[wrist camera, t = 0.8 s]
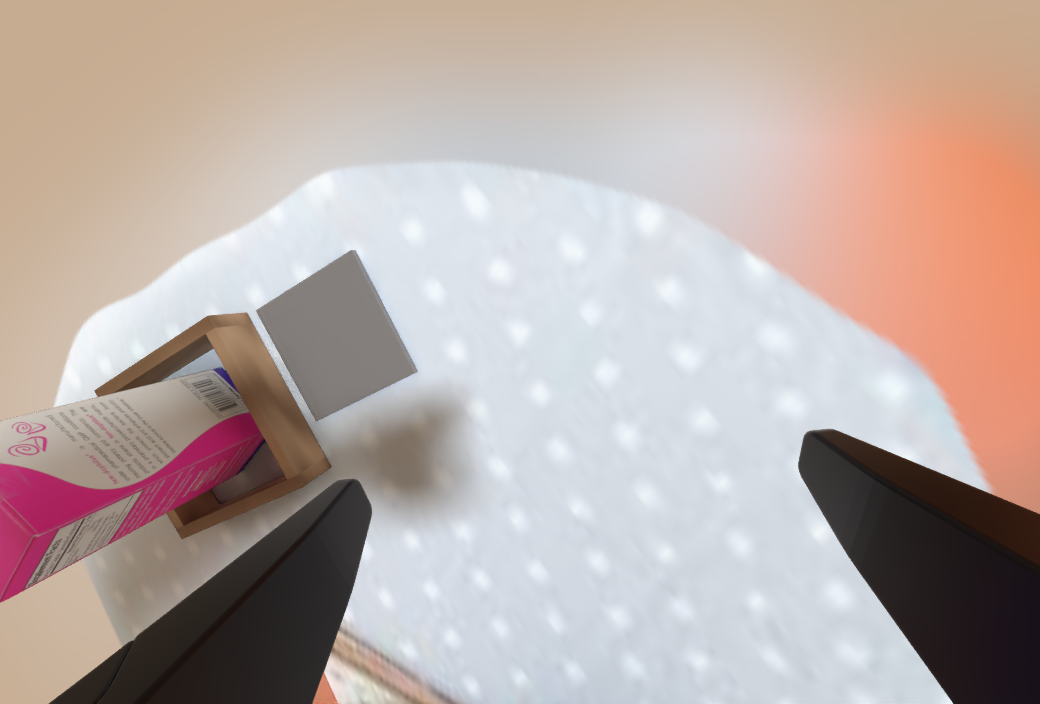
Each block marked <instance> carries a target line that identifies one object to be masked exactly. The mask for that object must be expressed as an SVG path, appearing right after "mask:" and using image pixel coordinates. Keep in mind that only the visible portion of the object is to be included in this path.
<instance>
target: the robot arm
mask: <svg viewBox="0 0 1040 704" xmlns="http://www.w3.org/2000/svg"><path fill="white" fill-rule="evenodd" d="M798 468H799V472H800V475H801V477H802V479H803V481H804V482H805V484H806V486H807V487H808V489H809V491H810V493H811V494H812V496H813V498H814V499H815V501H816V503H817V505H818V506H819V508H820V510H821V511H822V513H823V515H824V516H825V518H826V520H827V522H828V523H829V525H830V527H831V528H832V530H833V532H834V534H835V535H836V537H837V539H838V540H839V542H840V544H841V545H842V547H843V549H844V550H845V552H846V553H847V555H848V557H849V558H850V559H851V561H852V562H853V564H854V565H855V567H856V568H857V570H858V571H859V573H860V574H861V575H862V577H863V578H864V579H865V581H866V582H867V584H868V585H869V586H870V588H871V589H872V591H873V592H874V593H875V595H876V596H877V598H878V599H879V600H880V602H881V603H882V605H883V606H884V607H885V609H886V610H887V612H888V613H889V614H890V616H891V617H892V619H893V620H894V621H895V623H896V624H897V626H898V627H899V628H900V630H901V631H902V633H903V634H904V635H905V637H906V638H907V639H908V641H909V642H910V644H911V645H912V646H913V648H914V649H915V651H916V652H917V653H918V655H919V656H920V658H921V659H922V660H923V662H924V663H925V665H926V666H927V667H928V669H929V670H930V672H931V673H932V674H933V676H934V677H935V679H936V680H937V681H938V683H939V684H940V686H941V687H942V688H943V690H944V691H945V693H946V694H947V695H948V697H949V698H950V699H951V701H952V702H953V704H1040V514H1038V513H1036V512H1033V511H1031V510H1028V509H1026V508H1024V507H1021V506H1019V505H1016V504H1014V503H1012V502H1009V501H1007V500H1004V499H1002V498H999V497H997V496H995V495H992V494H990V493H987V492H985V491H982V490H980V489H978V488H975V487H973V486H970V485H968V484H965V483H963V482H961V481H958V480H956V479H953V478H951V477H948V476H946V475H944V474H941V473H939V472H936V471H934V470H931V469H929V468H927V467H924V466H922V465H919V464H917V463H914V462H912V461H910V460H907V459H905V458H902V457H900V456H897V455H895V454H893V453H890V452H888V451H885V450H883V449H881V448H878V447H876V446H873V445H871V444H868V443H866V442H864V441H861V440H859V439H856V438H854V437H851V436H849V435H847V434H844V433H842V432H839V431H837V430H834V429H821V430H812V431H808V432H807V433H806V434H805V435H804V438H803V443H802V447H801V452H800V457H799V462H798ZM371 516H372V508H371V504H370V502H369V500H368V498H367V496H366V494H365V491H364V489H363V487H362V485H361V483H360V482H359V481H358V480H357V479H346V480H339V481H336V482H335V483H333V484H332V485H331V486H330V487H328V488H327V489H326V490H324V491H323V492H322V493H321V494H319V495H318V496H317V497H315V498H314V499H313V500H312V501H310V502H309V503H308V504H306V505H305V506H304V507H302V508H301V509H300V510H299V511H297V512H296V513H295V514H293V515H292V516H291V517H290V518H288V519H287V520H286V521H284V522H283V523H282V524H281V525H279V526H278V527H277V528H275V529H274V530H273V531H272V532H270V533H269V534H268V535H266V536H265V537H264V538H263V539H261V540H260V541H259V542H257V543H256V544H255V545H254V546H252V547H251V548H250V549H248V550H247V551H246V552H245V553H243V554H242V555H241V556H239V557H238V558H237V559H236V560H234V561H233V562H232V563H230V564H229V565H228V566H226V567H225V568H224V569H223V570H221V571H220V572H219V573H217V574H216V575H215V576H214V577H212V578H211V579H210V580H208V581H207V582H206V583H205V584H203V585H202V586H201V587H199V588H198V589H197V590H196V591H194V592H193V593H192V594H190V595H189V596H188V597H187V598H185V599H184V600H183V601H181V602H180V603H179V604H178V605H176V606H175V607H174V608H172V609H171V610H170V611H169V612H167V613H166V614H165V615H163V616H162V617H161V618H159V619H158V620H157V621H156V622H154V623H153V624H152V625H150V626H149V627H148V628H147V629H145V630H144V631H143V632H141V633H140V634H139V635H138V636H137V637H136V638H135V640H134V641H130V642H128V643H127V644H126V645H125V646H123V647H122V648H121V649H119V650H118V651H117V652H116V653H114V654H113V655H112V656H110V657H109V658H108V659H107V660H105V661H104V662H103V663H102V664H100V665H99V666H98V667H96V668H95V669H94V670H92V671H91V672H90V673H88V674H87V675H86V676H84V677H83V678H82V679H80V680H79V681H78V682H77V683H75V684H74V685H73V686H71V687H70V688H69V689H67V690H66V691H65V692H64V693H62V694H61V695H59V696H58V697H57V698H56V699H54V700H53V701H52V702H50V703H49V704H313V701H314V698H315V695H316V693H317V690H318V687H319V684H320V681H321V678H322V676H323V673H324V670H325V667H326V664H327V662H328V659H329V656H330V653H331V650H332V647H333V645H334V642H335V639H336V636H337V633H338V630H339V628H340V625H341V622H342V619H343V616H344V613H345V611H346V608H347V605H348V602H349V599H350V596H351V593H352V590H353V586H354V583H355V579H356V576H357V572H358V568H359V564H360V560H361V556H362V552H363V548H364V544H365V540H366V536H367V532H368V528H369V524H370V520H371Z"/></svg>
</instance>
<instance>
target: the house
mask: <svg viewBox="0 0 1040 704" xmlns="http://www.w3.org/2000/svg"><path fill="white" fill-rule="evenodd" d="M313 704H338V702H337V700H336V698H335V696H334V694H333V692H332V689H331V687H330V685H329V683H328V681H327V678H326V676H325V674H324V673H323V676H322V678H321V681H320V684H319V687H318V690H317V693H316V695H315V698H314V701H313Z"/></svg>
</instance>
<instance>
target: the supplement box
mask: <svg viewBox="0 0 1040 704" xmlns="http://www.w3.org/2000/svg"><path fill="white" fill-rule="evenodd" d="M264 441H265V439H264V437H263V435H262V434H261V432H260V430H259V428H258V426H257V425H256V423H255V421H254V419H253V417H252V416H251V414H250V412H249V410H248V409H247V407H246V405H245V403H244V401H243V400H242V398H241V396H240V394H239V392H238V391H237V389H236V387H235V385H234V383H233V382H232V380H231V378H230V376H229V375H228V374H227V373H226V372H225V371H224V370H223V369H222V368H221V367H220V368H216V369H213V370H208V371H203V372H200V373H195V374H192V375H187V376H183V377H179V378H175V379H171V380H166V381H162V382H158V383H154V384H150V385H146V386H142V387H138V388H133V389H129V390H125V391H121V392H117V393H113V394H109V395H105V396H101V397H96V398H92V399H88V400H84V401H80V402H76V403H72V404H67V405H63V406H59V407H54V408H51V409H47V410H42V411H38V412H34V413H30V414H26V415H22V416H17V417H13V418H9V419H5V420H1V421H0V603H1V602H3V601H5V600H7V599H9V598H11V597H13V596H15V595H17V594H18V593H20V592H22V591H24V590H26V589H27V588H29V587H31V586H33V585H35V584H37V583H39V582H40V581H42V580H44V579H46V578H48V577H50V576H52V575H53V574H55V573H57V572H59V571H61V570H63V569H64V568H66V567H68V566H70V565H72V564H74V563H75V562H77V561H79V560H81V559H83V558H85V557H86V556H88V555H90V554H92V553H94V552H96V551H97V550H99V549H101V548H103V547H105V546H107V545H108V544H110V543H112V542H114V541H116V540H118V539H119V538H121V537H123V536H125V535H127V534H129V533H131V532H132V531H134V530H136V529H138V528H140V527H141V526H143V525H145V524H147V523H149V522H150V521H152V520H154V519H156V518H158V517H159V516H161V515H163V514H165V513H167V512H169V511H171V510H173V509H174V508H176V507H178V506H180V505H182V504H184V503H186V502H187V501H189V500H191V499H193V498H195V497H196V496H198V495H200V494H202V493H204V492H206V491H208V490H209V489H211V488H213V487H215V486H217V485H219V484H220V483H222V482H224V481H226V480H228V479H230V478H231V477H233V476H235V475H237V474H239V473H240V472H241V471H242V469H243V468H244V467H245V466H246V464H247V463H248V462H249V460H250V459H251V458H252V457H253V455H254V454H255V453H256V451H257V450H258V449H259V448H260V446H261V445H262V444H263V442H264Z"/></svg>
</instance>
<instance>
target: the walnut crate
mask: <svg viewBox="0 0 1040 704" xmlns="http://www.w3.org/2000/svg"><path fill="white" fill-rule="evenodd" d="M213 348H214V349H215V351H216V353H217V355H218V357H219V358H220V360H221V362H222V364H223V366H224V367H225V369H226V371H227V373H228V375H229V376H230V378H231V380H232V382H233V383H234V385H235V387H236V389H237V391H238V392H239V394H240V396H241V398H242V400H243V401H244V403H245V405H246V407H247V409H248V410H249V412H250V414H251V416H252V417H253V419H254V421H255V423H256V425H257V426H258V428H259V430H260V432H261V434H262V435H263V437H264V439H265V441H266V443H267V444H268V446H269V448H270V450H271V452H272V453H273V455H274V457H275V459H276V460H277V462H278V464H279V466H280V468H281V469H282V471H283V473H284V476H282V477H280V478H278V479H276V480H273V481H271V482H269V483H267V484H265V485H262V486H260V487H258V488H256V489H253V490H251V491H249V492H247V493H245V494H242V495H240V496H238V497H236V498H234V499H231V500H229V501H227V502H225V503H223V504H220V505H219V503H218V501H217V499H216V498H215V496H214V494H213V492H212V491H211V489H209V490H208V491H206V492H204V493H202V494H200V495H198V496H196V497H195V498H193V499H191V500H189V501H187V502H186V503H184V504H182V505H180V506H178V507H176V508H174V509H173V510H171V511H169V512H167V515H168V516H169V518H170V520H171V521H172V523H173V525H174V526H175V528H176V530H177V532H178V533H179V535H180V537H181V538H182V539H183V538H186V537H188V536H190V535H193V534H195V533H197V532H200V531H202V530H204V529H207V528H209V527H211V526H214V525H216V524H218V523H220V522H223V521H225V520H227V519H230V518H232V517H234V516H237V515H239V514H241V513H244V512H246V511H248V510H251V509H253V508H255V507H257V506H260V505H262V504H264V503H267V502H269V501H271V500H274V499H276V498H278V497H281V496H283V495H285V494H287V493H290V492H292V491H294V490H297V489H299V488H301V487H303V486H305V485H306V484H308V483H309V482H311V481H312V480H314V479H315V478H316V477H318V476H319V475H321V474H322V473H324V472H325V471H327V470H328V469H329V468H331V466H330V464H329V462H328V460H327V458H326V456H325V455H324V453H323V451H322V449H321V447H320V446H319V444H318V442H317V440H316V438H315V436H314V435H313V433H312V431H311V429H310V427H309V425H308V424H307V422H306V420H305V418H304V416H303V414H302V413H301V411H300V409H299V407H298V405H297V403H296V402H295V400H294V398H293V396H292V394H291V392H290V391H289V389H288V387H287V385H286V383H285V382H284V380H283V378H282V376H281V374H280V372H279V371H278V369H277V367H276V365H275V363H274V361H273V360H272V358H271V356H270V354H269V352H268V350H267V349H266V347H265V345H264V343H263V341H262V339H261V338H260V336H259V334H258V332H257V330H256V328H255V327H254V325H253V323H252V321H251V319H250V317H249V316H248V314H247V313H236V314H223V315H211V316H207V317H205V318H204V319H202V320H201V321H199V322H198V323H196V324H195V325H193V326H191V327H190V328H188V329H187V330H185V331H184V332H182V333H181V334H179V335H178V336H176V337H175V338H173V339H172V340H170V341H169V342H167V343H166V344H164V345H163V346H161V347H160V348H158V349H157V350H155V351H154V352H152V353H151V354H149V355H148V356H146V357H145V358H143V359H142V360H140V361H138V362H137V363H135V364H134V365H132V366H131V367H129V368H128V369H126V370H125V371H123V372H122V373H120V374H119V375H117V376H116V377H114V378H113V379H111V380H110V381H108V382H107V383H105V384H104V385H102V386H101V387H99V388H98V389H96V390H95V393H96V395H97V396H98V397H101V396H105V395H109V394H113V393H117V392H121V391H125V390H129V389H133V388H138V387H142V386H146V385H150V384H154V383H158V382H160V381H161V380H163V379H165V378H166V377H168V376H169V375H171V374H173V373H174V372H176V371H177V370H179V369H181V368H182V367H184V366H186V365H187V364H189V363H190V362H192V361H194V360H195V359H197V358H198V357H200V356H202V355H203V354H205V353H206V352H208V351H210V350H211V349H213Z"/></svg>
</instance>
